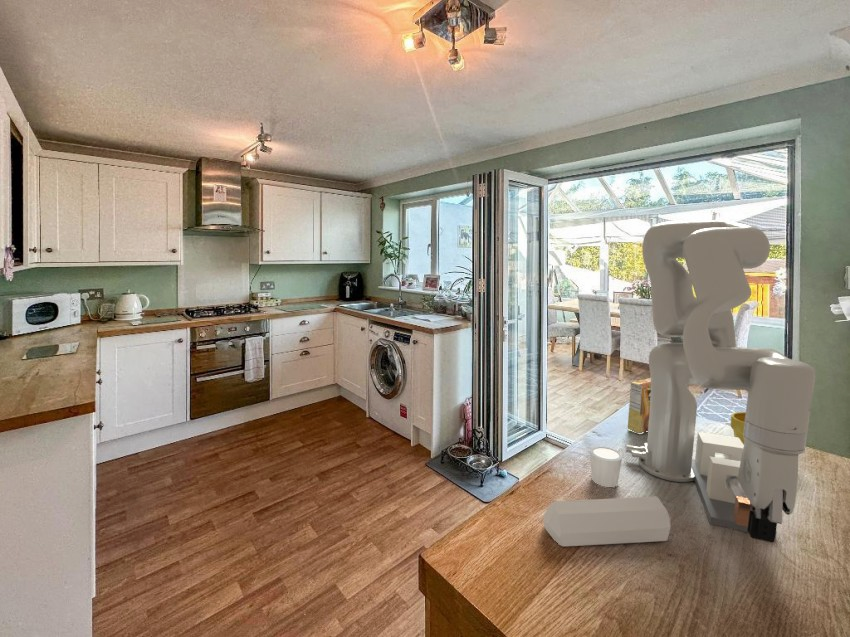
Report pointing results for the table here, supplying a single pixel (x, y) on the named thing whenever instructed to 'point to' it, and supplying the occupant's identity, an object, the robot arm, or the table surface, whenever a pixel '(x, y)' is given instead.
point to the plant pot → (738, 424)
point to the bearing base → (716, 506)
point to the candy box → (639, 405)
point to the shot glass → (605, 466)
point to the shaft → (739, 501)
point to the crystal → (607, 521)
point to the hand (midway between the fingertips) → (760, 536)
